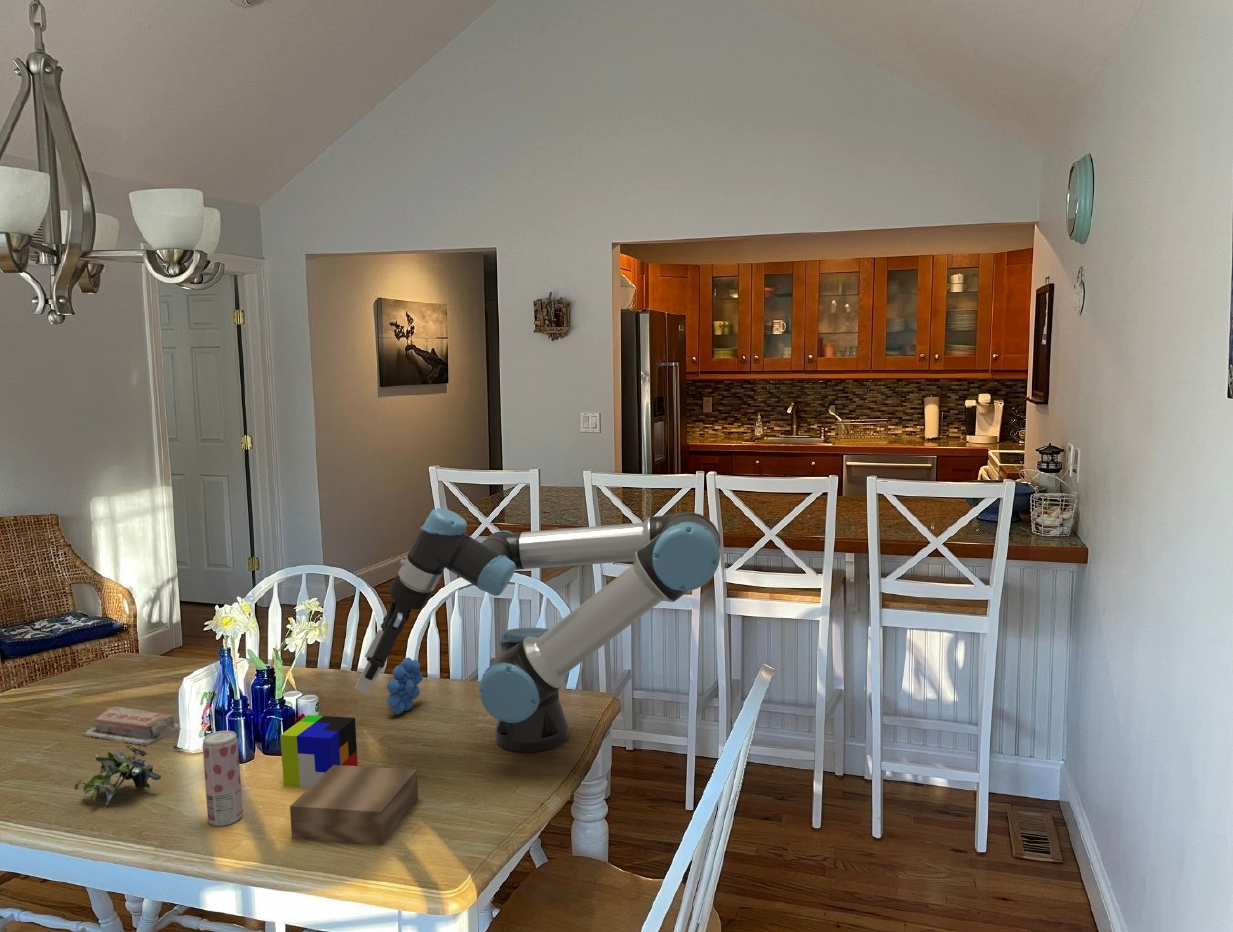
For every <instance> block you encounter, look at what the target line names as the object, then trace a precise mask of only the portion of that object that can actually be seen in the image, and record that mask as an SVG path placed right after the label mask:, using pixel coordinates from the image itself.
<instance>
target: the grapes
mask: <svg viewBox="0 0 1233 932" xmlns="http://www.w3.org/2000/svg"><path fill="white" fill-rule="evenodd" d="M420 669H421V665H420V661H418V660H417V659H414V660H413V659H412V658H411V657H406V658H404V659H403V660H402V661H401V663H400V664H398V665H396V666H395V667H394V668H393V671H392V677H393V678H392V679H391V680H390V681H389V682H388V683H387V684H386V688H387V692H388V693H389V694H390V695H388V697H387V699H386V703H387V705H388V707H389V708H392V712H393V713H394V714H395V715H400V714H402V713H403V712H407V711H410V709H412V707H413V705H414V702H413V700H415V699H417V698H418V697H419V695H420V694H421V690H420V689H421V688H420V687H419V684H421V682H422V681H423V679H424V677H423V673H422V672H421V671H420Z"/></svg>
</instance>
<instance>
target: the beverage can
mask: <svg viewBox="0 0 1233 932" xmlns="http://www.w3.org/2000/svg"><path fill="white" fill-rule="evenodd" d="M202 756H203V768H204V771H203V772H204V781H205V784H204V786H205V796H206V797H205V798H206V811H207V822H208V823H209V824H210V825H213V826H215V827H222V826H223V827H224V826H228V825H232V824H234V823H237V822H238V821H239V820H241V818H242V817H243V815H244V807H243V794H242V793H243V792H242V781H241V779H242V778H241V767H240V754H239V742H238V737H237V734H236V732H235V731H231V730H219V731H215V732H210V733H208V734H207V735H205V736H204V737H203V739H202Z"/></svg>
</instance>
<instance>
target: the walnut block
mask: <svg viewBox="0 0 1233 932" xmlns="http://www.w3.org/2000/svg"><path fill="white" fill-rule="evenodd" d="M418 788H419V787H418V770H417V768H416V769H413V768H412V769H411V768H392V767H379V766H378V767H376V766H359V765H358V766H344V765H333V766H332V767H331V768H330V769H329V770H328V771H327V772H325V773H324V774H323V775H322V776H321V777H320V778H319V779H318V780H317V781H316V782H315V783H314V784H313V785H312V786H311V787H310V788H307V789H306V790H305V791H304V792H303V793H302V794H301V795H300V796H298V798H297V799H295V800H294V802H293V803H292V804H291V805H290V806H289V811H290V812H289V813H290V814H289V815H290V826H291V827H290V829H291V830H290V831H291V839H295V840H298V839H299V840H309V841H311V840H313V841H325V842H326V841H329V842H341V843H356V844H358V843H359V844H371V845H384V843H385V842H386V841H387V840H388V839H389V837H390V835H392V833H393V832H394V831H395V830H396V828H397V827H398V826H399V824H400V823H401V822H402V821H403V820H404V818H405V817H406V815H407V814H408V813H409V812H410V810H411V809H412V808H413V807H414V805H415V804H416V803H417V801H418V800H419V789H418Z"/></svg>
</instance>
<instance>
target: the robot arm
mask: <svg viewBox="0 0 1233 932" xmlns="http://www.w3.org/2000/svg"><path fill="white" fill-rule="evenodd" d="M467 528H468V523H467V521H466V520H465V518H463V517H461V516H460V515H459V514H458V513H456V512H455V511H452V510H450V509H448V508H441V507H436V508H434V509H432V510H431V511H430V513H429V515H428V516H427V518H426V520H425V522H424V523H423V525H421V527H420V530H419V532H418V534H417V536H416V538H415V540H414V542H413V544H412V546H411V547H410V550H409V552H408V553H407V556H406V558H405V559H403V558H402V559H401V560H400V561H399V563H400V564H401V567H400V569H398V570H399V571H398V575H396V576H395V578H394V580H393V582H392V583H391V585H390V587H389V588H388V595H389V597H390V598H391V599H392V600H393V601H392V602H391V604H390V606H389V608H388V610H387V612H386V615H385V616H384V617H383V619H382V623H380V627H379V629H378V630H377V632H376V634H375V636H374V638H373V639H372V641H371V644H370V645H369V647H368V649H367V651H366V653H365V655H364V658H366V659H365V660H366V661H367V663H366V665H365V667H364V669H363V670H362V672H361V674H360V676H359V678H358V680H357V682H356V684H355V685H354V689H355V690H357V691H359V692H361V693H363V694H366V695H368V694H369V692H370V690H371V689H372V686H373V685H374V683H375V681H376V679H377V677H378V675H379V673H380V671H381V669H383V668H384V667H385V665H386V664H385V663H386V662H387V660H388V658H389V656H390V653H392V649H393V647H394V645H395V643H396V641H397V639H398V637H399V636H400V634H401V632H402V631H403V628H404V626H405V624H406V623H407V622H408V621H409V619H410V616H411V615H410V613H411V611H412V610H414V611H419V610H423V608H425V607H426V605H427V602H428V600H429V599H430V598H431V595H432V591H434V590H435V588H436V586H437V584H438V582H439V581H440V579H441V578H442V575H443V573H444V571H445V569H447V570H448V571H450V572H452V573H453V574H455V575H456V576H458V577H460V578H461V579H463V580H465V581H466V582H468V583H470V584H472V585H473V586H475V587H476V588H478V589H479V590H480V591H483V592H485V593H488V594H490V595H492V596H494V597H497V596H498V597H499V596H500V595H501V594H502V593H503V592H504V590H505V589H506V588H507V586H508V584H509V583H510V581H511V579H512V578H513V576H514V573H515V572H516V571H518V570H519V571H520V570H526V569H527V570H528V569H529V570H530V569H543V568H557V567H572V566H583V565H584V566H585V565H601V564H602V565H603V564H613V563H614V564H615V563H628V562H633V564H632V565H631V566H629V567H628V568H627V569H625V570H624V571H623V572H622V573H620V574H619V575H617V576H616V577H615V578H614V579H612V580H611V581H610V582H608V583H607V584H606V585H605V586H604V587H602V588H601V589H599V590H598V591H596V592H595V594H593V595H592V596H591V597H589V598H588V599H587V600H585V601H584V602H583V603H581V604H580V605H578V607H577V608H575V609H574V610H572V611H571V612H570V613H568V614H567V615H566V616H565V617H564V618H562V619H560V621H558V622H557V623H556V624H554V625H553V626H552V627H550V628H542V627H518V628H511V629H506V630H504V631H503V632H502V633H501V635H500V641H499V645H500V653H499V655H498V656H497V657H496V658H495V660H494V661H493V662H492V664H491V665H490V666H489V667H488V668H487V669H485V671H484V673H483V674H482V677H481V680H480V683H479V686H478V688H479V689H478V691H479V692H478V693H479V694H478V695H479V699H480V702H481V704H482V706H483V707H484V709H485V711H487V713H488V714H489V715H491V717H493V718H494V719H495V720H497V723H496V727H495V733H494V734H495V742H496V744H497V745H498V746H500V747H501V748H503V749H505V750H508V751H511V752H512V751H513V752H518V753H519V752H521V753H533V752H534V753H536V752H543V751H548V750H551V749H555V748H557V747H559V746H561V745H563V744H564V743H566V741H567V740H568V739H569V723H568V722H567V719H566V716H565V713H564V710H563V707H562V705H561V702H560V691H559V690H560V689H561V688H563V686H565V685H564V684H565V678H566V675H567V673H569V672H571V671H572V670H573V669H574V668H575V667H577V666H578V665H579V664H581V663H582V662H583V661H585V660H586V659H588V657H590V656H592V655H593V654H594V653H595V652H596V651H598V650H600V648H602V647H603V646H605V645H606V644H607V643H609V642H610V641H611V640H612V639H614V638H615V637H616V636H618V635H619V634H620V633H622V632H623V631H624V630H626V629H627V628H628V627H629V626H631V625H632V624H633V623H635V622H636V621H637V620H639V619H640V618H641V617H642V616H644V615H645V614H647V613H648V612H649V611H651V610H652V609H653V608H655V607H656V606H657V605H658V604H660V603H661V602H669V603H675V602H676V601H678V600H679V599H680V598H681V597H683V596H684V595H685V594H687V593H688V592H690V591H691V592H692V591H694V590H697V589H699V588H701V587H704V585H706V584H707V583H708V582H709V581H710V580H711V579H712V578H713V577H714V575H715V574H716V572H717V570H718V567H719V565H720V560H721V552H720V551H721V550H720V548H721V538H720V532H719V530H718V529H717V527H716V525H715V524H714V523H713V521H711V520H710V519H709V518H708V517H706V516H704V515H703V514H700V513H697V512H696V513H695V512H679V513H673V514H666V515H658V516H649V517H647V518H646V520H645V521H644V522H634V523H622V524H609V525H608V524H607V525H597V526H596V525H595V526H584V527H583V526H582V527H570V528H561V529H560V528H559V529H547V530H535V531H534V530H533V531H522V532H512V531H510V530H499V531H496V532H493V533H492V534H489V536H487V537H486V539H484V540H483V541H482V542H480V541H478V540H477V539H475V538H473V537H472V536H470V535H469V534H467V533H466V532H467Z"/></svg>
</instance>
